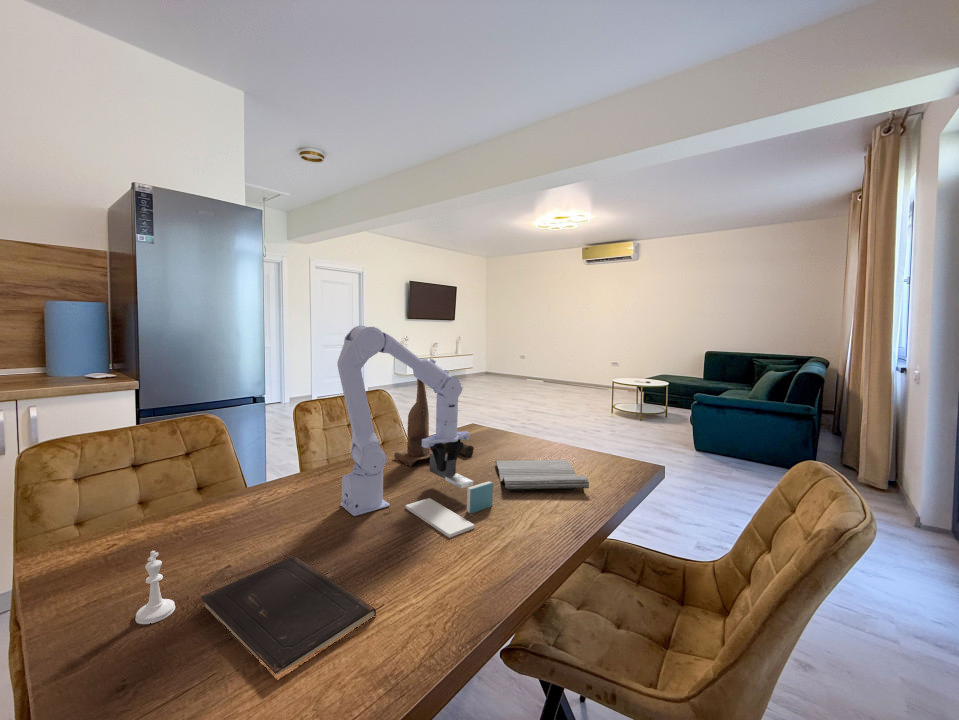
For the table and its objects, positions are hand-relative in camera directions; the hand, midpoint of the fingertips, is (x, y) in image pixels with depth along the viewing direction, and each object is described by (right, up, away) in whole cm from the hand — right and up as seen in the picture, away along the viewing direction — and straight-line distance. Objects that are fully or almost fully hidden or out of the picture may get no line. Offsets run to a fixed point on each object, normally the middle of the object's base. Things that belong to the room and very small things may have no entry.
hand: (445, 468), depth 117 cm
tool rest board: (0, -7, -16) cm, 18 cm away
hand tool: (-1, -3, +36) cm, 36 cm away
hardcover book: (-21, -11, -49) cm, 55 cm away
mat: (+26, -6, +11) cm, 29 cm away
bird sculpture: (-11, -4, +24) cm, 27 cm away
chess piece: (-41, -10, -50) cm, 66 cm away
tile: (+9, -7, -10) cm, 16 cm away
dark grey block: (+1, -2, -1) cm, 3 cm away
